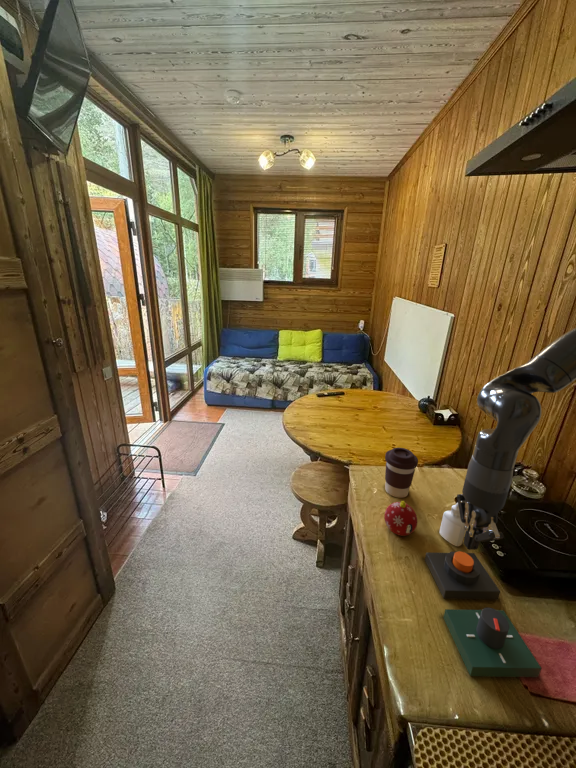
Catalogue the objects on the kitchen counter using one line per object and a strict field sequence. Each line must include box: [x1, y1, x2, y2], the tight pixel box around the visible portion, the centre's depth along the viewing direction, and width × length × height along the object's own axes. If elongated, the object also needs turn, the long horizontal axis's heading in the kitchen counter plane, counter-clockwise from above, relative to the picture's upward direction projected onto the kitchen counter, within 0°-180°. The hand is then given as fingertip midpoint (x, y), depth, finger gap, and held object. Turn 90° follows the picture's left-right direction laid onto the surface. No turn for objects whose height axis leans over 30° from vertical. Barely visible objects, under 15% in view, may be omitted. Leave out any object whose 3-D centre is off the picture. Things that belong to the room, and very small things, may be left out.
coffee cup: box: [384, 447, 419, 499], centre depth 100 cm, size 10×10×15 cm
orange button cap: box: [453, 551, 474, 573], centre depth 70 cm, size 4×4×2 cm
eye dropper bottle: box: [438, 502, 466, 547], centre depth 82 cm, size 4×6×12 cm
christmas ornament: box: [384, 500, 418, 537], centre depth 85 cm, size 9×9×10 cm
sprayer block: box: [424, 551, 501, 600], centre depth 71 cm, size 12×10×5 cm
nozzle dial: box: [476, 607, 509, 649], centre depth 57 cm, size 4×4×5 cm
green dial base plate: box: [443, 608, 542, 678], centre depth 58 cm, size 12×10×3 cm
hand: (469, 546), depth 68 cm, fingers closed
